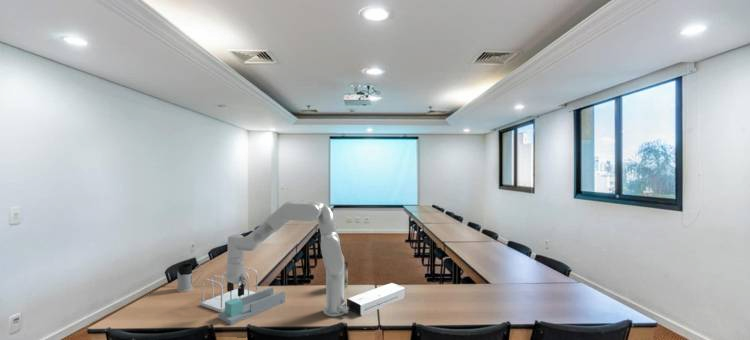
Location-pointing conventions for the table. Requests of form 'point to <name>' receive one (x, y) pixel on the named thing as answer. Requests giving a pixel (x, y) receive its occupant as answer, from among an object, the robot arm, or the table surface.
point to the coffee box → (345, 274)
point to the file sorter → (219, 301)
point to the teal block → (233, 307)
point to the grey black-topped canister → (185, 277)
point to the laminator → (375, 298)
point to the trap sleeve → (255, 305)
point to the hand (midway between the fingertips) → (235, 293)
